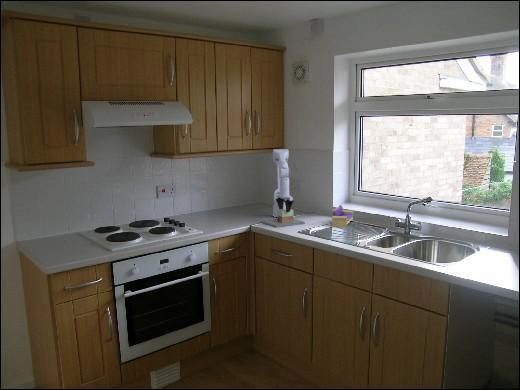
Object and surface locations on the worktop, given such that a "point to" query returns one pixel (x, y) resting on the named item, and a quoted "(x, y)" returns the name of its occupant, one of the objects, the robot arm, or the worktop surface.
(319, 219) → the worktop surface
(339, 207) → the toy sofa
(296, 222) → the baseplate
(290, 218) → the walnut block
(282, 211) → the sage block
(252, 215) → the worktop surface
